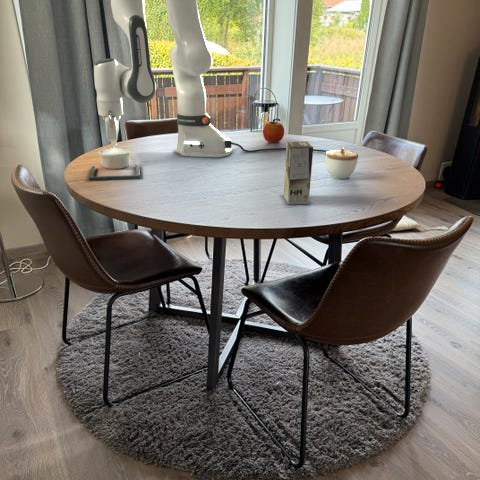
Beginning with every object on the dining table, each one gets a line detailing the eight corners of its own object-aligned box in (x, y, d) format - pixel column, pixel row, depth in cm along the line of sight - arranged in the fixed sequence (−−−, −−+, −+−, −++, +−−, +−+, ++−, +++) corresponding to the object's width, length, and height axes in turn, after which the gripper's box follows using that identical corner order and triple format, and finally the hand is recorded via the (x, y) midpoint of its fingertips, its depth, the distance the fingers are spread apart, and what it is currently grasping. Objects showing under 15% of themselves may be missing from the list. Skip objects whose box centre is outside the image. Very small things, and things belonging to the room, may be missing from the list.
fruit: (272, 138, 224) (273, 115, 219) (288, 142, 218) (289, 118, 213) (257, 141, 218) (258, 117, 213) (273, 145, 212) (274, 120, 207)
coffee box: (309, 204, 144) (314, 147, 136) (287, 204, 144) (291, 147, 135) (303, 195, 152) (307, 140, 144) (282, 195, 152) (285, 140, 143)
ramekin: (97, 163, 182) (95, 148, 179) (128, 161, 186) (126, 146, 183) (103, 171, 173) (101, 155, 170) (134, 168, 177) (133, 153, 174)
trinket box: (357, 174, 174) (361, 146, 169) (353, 182, 165) (356, 153, 160) (327, 171, 177) (329, 143, 172) (321, 178, 168) (323, 150, 163)
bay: (92, 169, 176) (91, 166, 175) (139, 167, 178) (138, 164, 178) (89, 180, 163) (89, 177, 162) (140, 178, 166) (139, 175, 165)
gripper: (118, 113, 170) (122, 155, 177) (119, 105, 188) (123, 143, 195) (99, 114, 169) (104, 155, 176) (102, 105, 187) (107, 143, 194)
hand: (114, 149), depth 186 cm, fingers closed
